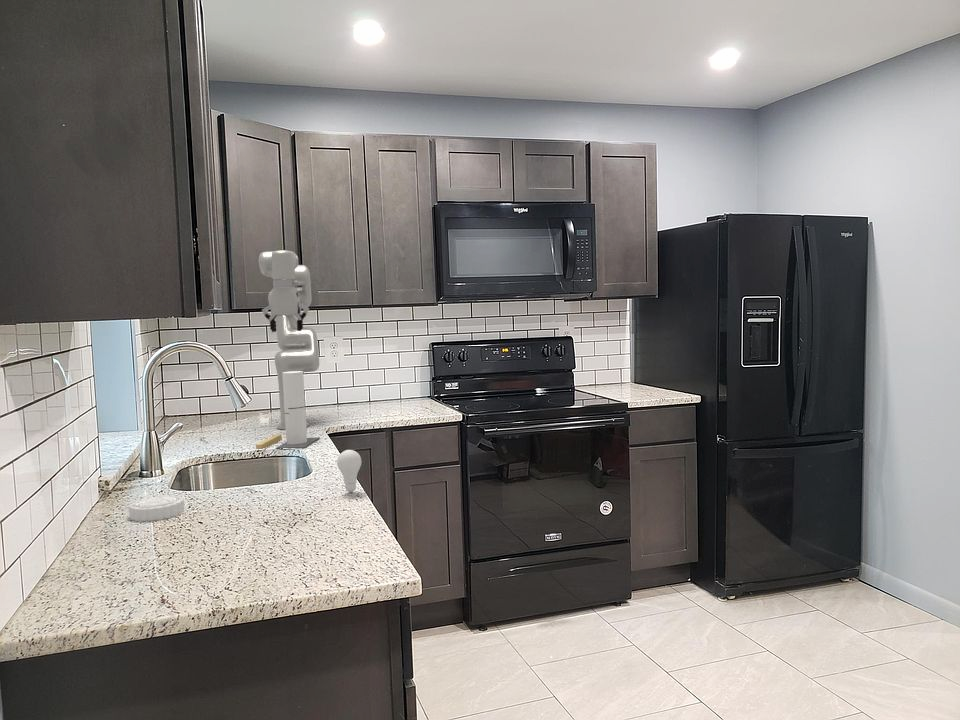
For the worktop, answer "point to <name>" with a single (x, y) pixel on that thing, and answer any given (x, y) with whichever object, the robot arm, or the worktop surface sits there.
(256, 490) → the worktop surface
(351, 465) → the lightbulb
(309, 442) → the mat
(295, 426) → the grey tall block
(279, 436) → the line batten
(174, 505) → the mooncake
